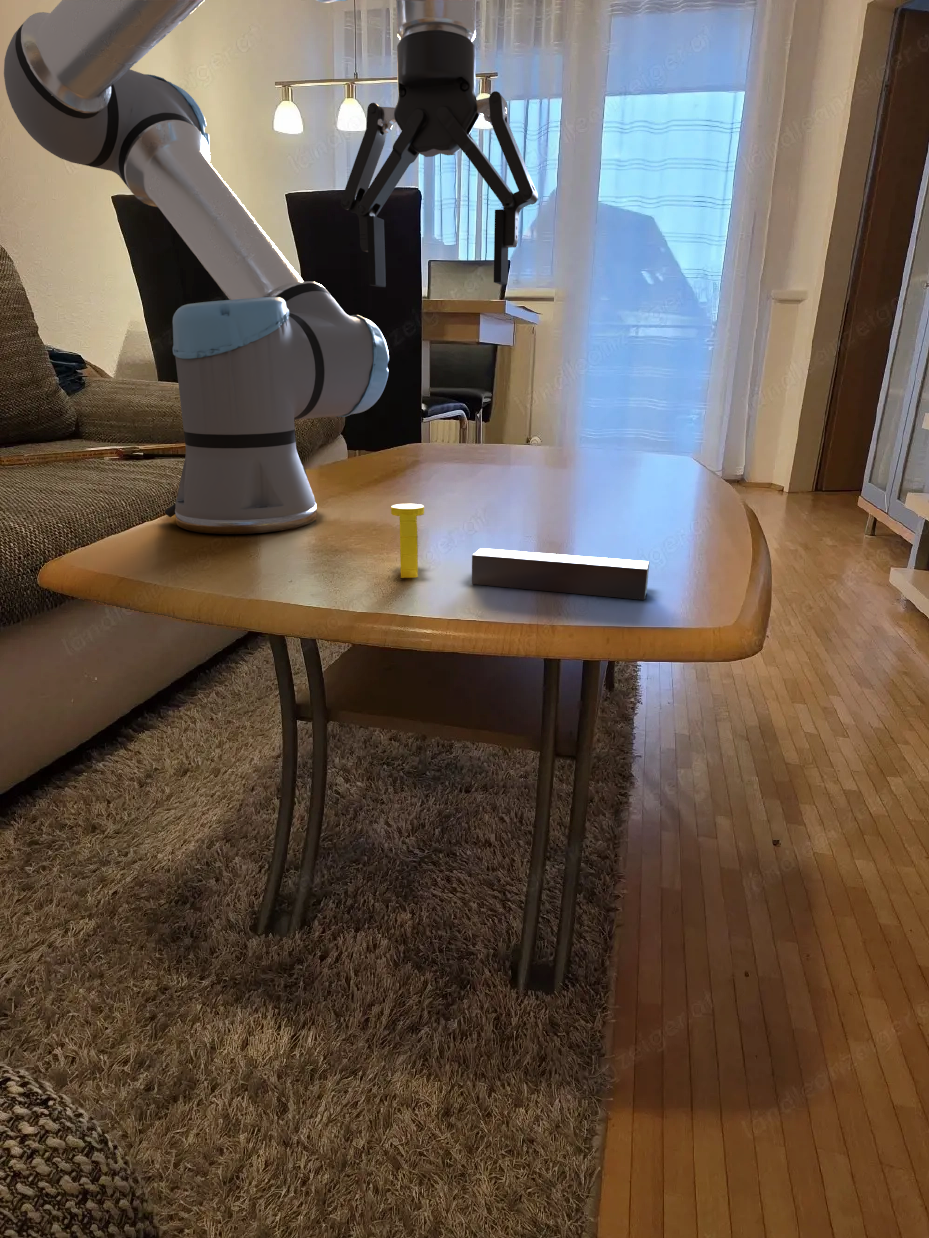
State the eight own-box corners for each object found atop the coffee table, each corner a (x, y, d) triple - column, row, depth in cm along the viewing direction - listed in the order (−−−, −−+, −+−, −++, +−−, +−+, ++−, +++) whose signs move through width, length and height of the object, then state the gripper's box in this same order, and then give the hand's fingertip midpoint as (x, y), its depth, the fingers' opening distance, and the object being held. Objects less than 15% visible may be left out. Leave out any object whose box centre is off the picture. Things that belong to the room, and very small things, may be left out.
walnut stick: (471, 584, 62) (471, 554, 62) (479, 576, 65) (480, 547, 64) (644, 600, 59) (647, 569, 58) (646, 591, 61) (649, 561, 60)
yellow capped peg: (426, 584, 62) (425, 512, 60) (392, 585, 62) (390, 513, 60) (423, 565, 68) (423, 499, 66) (392, 565, 68) (391, 499, 66)
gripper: (299, 41, 72) (313, 284, 79) (558, 9, 65) (548, 278, 72) (335, 68, 79) (344, 289, 86) (573, 42, 72) (562, 285, 79)
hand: (437, 285), depth 79 cm, fingers open, 13 cm apart
